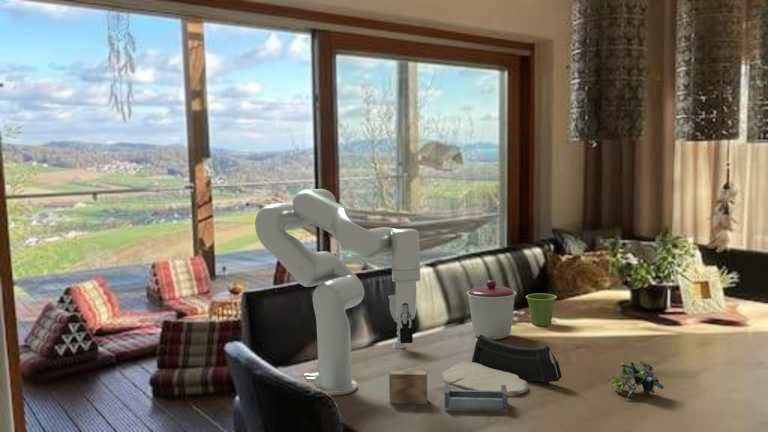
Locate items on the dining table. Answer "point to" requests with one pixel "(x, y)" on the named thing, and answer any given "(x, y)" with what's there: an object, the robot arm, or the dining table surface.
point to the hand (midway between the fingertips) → (408, 338)
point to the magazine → (518, 360)
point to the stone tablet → (483, 378)
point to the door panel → (408, 387)
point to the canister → (491, 310)
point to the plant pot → (541, 308)
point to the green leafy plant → (636, 378)
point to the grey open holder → (476, 400)
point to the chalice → (397, 342)
